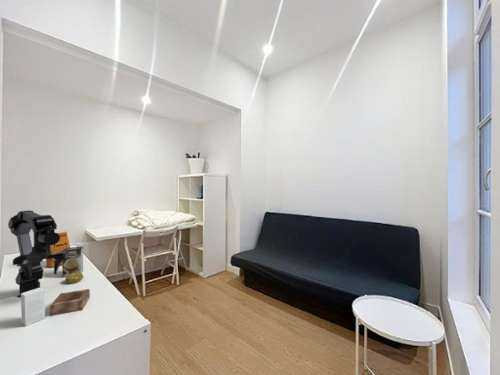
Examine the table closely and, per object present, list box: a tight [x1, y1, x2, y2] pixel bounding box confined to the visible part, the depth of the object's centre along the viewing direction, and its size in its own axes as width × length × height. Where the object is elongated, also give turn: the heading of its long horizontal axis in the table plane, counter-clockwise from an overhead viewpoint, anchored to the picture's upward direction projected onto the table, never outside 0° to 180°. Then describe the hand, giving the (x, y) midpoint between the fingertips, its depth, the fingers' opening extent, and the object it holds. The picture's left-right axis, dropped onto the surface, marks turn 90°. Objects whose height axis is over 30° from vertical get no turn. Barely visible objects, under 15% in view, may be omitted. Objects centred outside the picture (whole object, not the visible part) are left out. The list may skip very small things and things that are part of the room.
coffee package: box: [45, 231, 71, 268], centre depth 150 cm, size 10×12×22 cm
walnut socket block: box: [49, 288, 91, 317], centre depth 98 cm, size 11×11×4 cm
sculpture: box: [65, 272, 84, 285], centre depth 124 cm, size 8×4×8 cm
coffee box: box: [61, 245, 84, 278], centre depth 134 cm, size 9×6×16 cm
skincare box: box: [20, 287, 46, 327], centre depth 88 cm, size 6×4×12 cm
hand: (42, 275), depth 103 cm, fingers open, 9 cm apart
